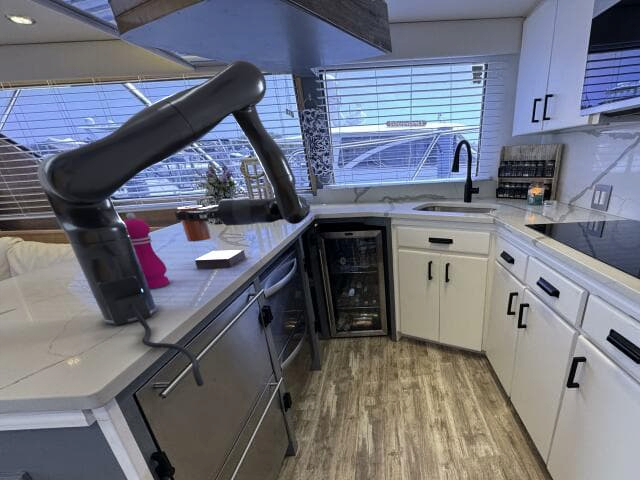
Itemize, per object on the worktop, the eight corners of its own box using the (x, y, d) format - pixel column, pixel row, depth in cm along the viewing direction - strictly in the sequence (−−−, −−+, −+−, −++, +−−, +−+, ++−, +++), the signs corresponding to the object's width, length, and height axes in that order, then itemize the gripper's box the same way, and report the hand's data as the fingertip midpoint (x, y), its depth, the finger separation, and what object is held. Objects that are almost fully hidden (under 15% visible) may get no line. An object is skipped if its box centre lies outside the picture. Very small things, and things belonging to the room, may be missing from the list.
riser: (230, 267, 104) (228, 258, 103) (197, 268, 104) (194, 259, 103) (245, 258, 114) (243, 249, 113) (215, 259, 114) (212, 251, 113)
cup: (213, 238, 97) (204, 206, 93) (190, 242, 93) (179, 209, 90) (208, 236, 101) (199, 205, 98) (185, 239, 98) (175, 207, 94)
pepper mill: (134, 288, 89) (105, 214, 81) (160, 279, 95) (135, 210, 87) (151, 290, 86) (122, 215, 78) (176, 282, 92) (153, 210, 84)
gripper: (247, 196, 99) (194, 198, 100) (224, 201, 86) (163, 204, 86) (253, 220, 102) (201, 223, 103) (231, 229, 89) (172, 231, 89)
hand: (184, 214), depth 94 cm, fingers closed on cup, 6 cm apart
